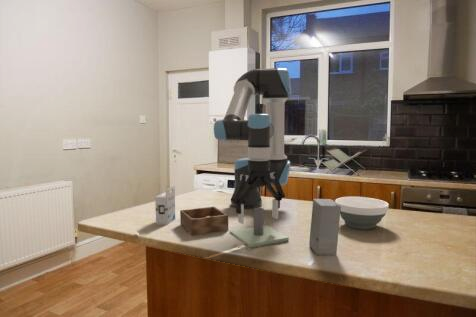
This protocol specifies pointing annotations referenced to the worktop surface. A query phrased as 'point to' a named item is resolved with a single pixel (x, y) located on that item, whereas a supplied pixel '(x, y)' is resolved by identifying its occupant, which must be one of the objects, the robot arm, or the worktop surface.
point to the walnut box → (203, 220)
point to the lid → (259, 232)
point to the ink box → (165, 207)
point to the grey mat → (266, 244)
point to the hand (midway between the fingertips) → (258, 220)
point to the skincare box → (324, 226)
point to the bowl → (362, 211)
